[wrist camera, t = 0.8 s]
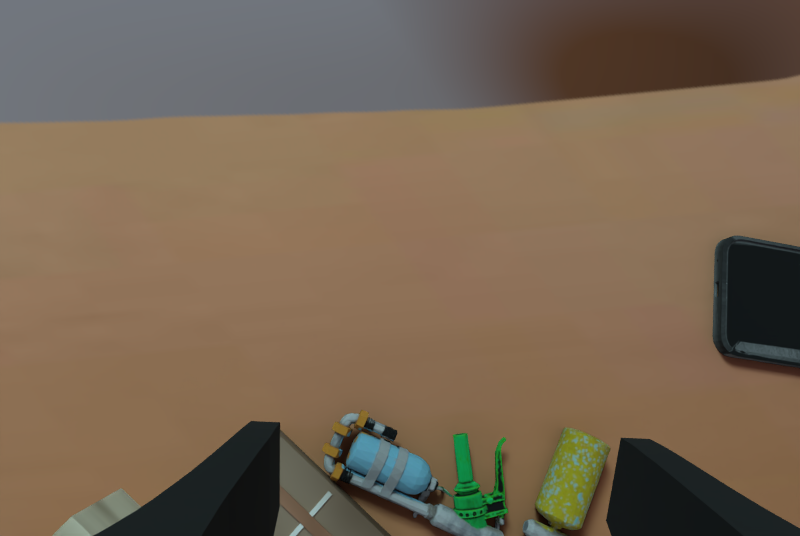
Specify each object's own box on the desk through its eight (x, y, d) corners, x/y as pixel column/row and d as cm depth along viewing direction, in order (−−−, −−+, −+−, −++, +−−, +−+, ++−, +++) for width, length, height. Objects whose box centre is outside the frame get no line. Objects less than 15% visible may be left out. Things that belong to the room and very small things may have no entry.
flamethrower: (373, 334, 32) (295, 502, 31) (377, 333, 30) (293, 517, 28) (802, 536, 34) (753, 704, 33) (842, 551, 32) (791, 736, 30)
